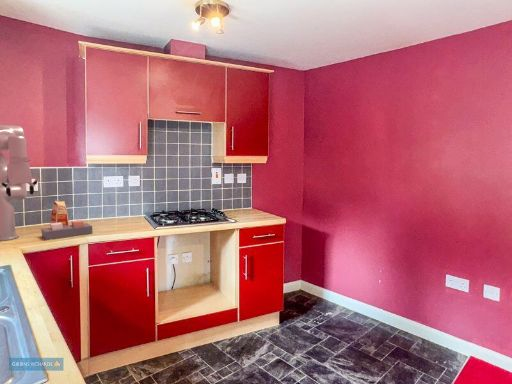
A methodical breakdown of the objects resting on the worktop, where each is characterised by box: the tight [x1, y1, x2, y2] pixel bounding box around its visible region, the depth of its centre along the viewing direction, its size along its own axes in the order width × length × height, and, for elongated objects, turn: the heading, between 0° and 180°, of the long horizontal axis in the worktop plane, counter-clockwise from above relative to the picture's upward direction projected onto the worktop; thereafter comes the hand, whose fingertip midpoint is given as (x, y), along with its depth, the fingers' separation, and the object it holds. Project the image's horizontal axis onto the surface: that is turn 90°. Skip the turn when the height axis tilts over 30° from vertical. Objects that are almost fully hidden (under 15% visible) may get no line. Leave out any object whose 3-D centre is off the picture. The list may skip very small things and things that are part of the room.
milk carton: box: [49, 199, 70, 226], centre depth 242 cm, size 9×9×20 cm
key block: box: [41, 222, 93, 241], centre depth 229 cm, size 11×26×5 cm, turn 130°
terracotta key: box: [71, 219, 85, 227], centre depth 232 cm, size 6×6×5 cm
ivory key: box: [49, 222, 63, 230], centre depth 225 cm, size 6×6×5 cm
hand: (20, 195), depth 186 cm, fingers open, 9 cm apart
